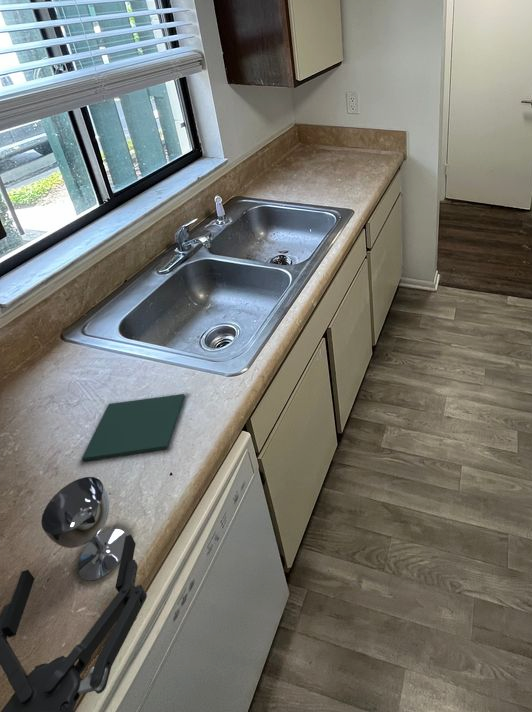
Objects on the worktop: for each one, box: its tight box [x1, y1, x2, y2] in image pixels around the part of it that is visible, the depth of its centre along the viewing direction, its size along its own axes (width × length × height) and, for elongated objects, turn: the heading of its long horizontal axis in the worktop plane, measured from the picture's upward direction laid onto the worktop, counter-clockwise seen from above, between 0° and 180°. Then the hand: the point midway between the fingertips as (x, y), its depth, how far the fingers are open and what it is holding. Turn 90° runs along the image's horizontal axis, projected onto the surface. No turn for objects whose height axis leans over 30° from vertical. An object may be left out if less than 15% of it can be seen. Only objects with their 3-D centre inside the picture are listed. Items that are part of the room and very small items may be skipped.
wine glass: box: [40, 476, 128, 582], centre depth 70 cm, size 8×8×15 cm
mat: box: [81, 393, 186, 462], centre depth 94 cm, size 16×12×1 cm
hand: (81, 556), depth 67 cm, fingers open, 13 cm apart
